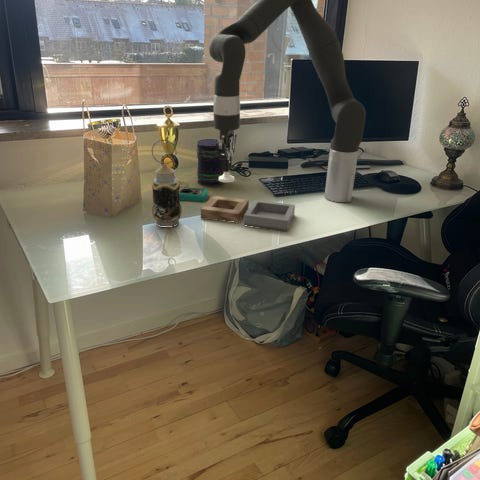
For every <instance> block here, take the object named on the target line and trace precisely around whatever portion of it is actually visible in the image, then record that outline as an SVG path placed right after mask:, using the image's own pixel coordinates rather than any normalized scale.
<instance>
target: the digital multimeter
mask: <svg viewBox="0 0 480 480" xmlns="http://www.w3.org/2000/svg"><path fill="white" fill-rule="evenodd" d="M184 187H185V188H184V189H182V190H181V191H179V197H180V201H190V202H202V203H204V202H205V201H206V200H208V198H209V194H208V193H209V191H208V189H207V188H204V187H203V188H202V187H186V186H184Z"/></svg>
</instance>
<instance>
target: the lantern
mask: <svg viewBox="0 0 480 480" xmlns="http://www.w3.org/2000/svg"><path fill="white" fill-rule="evenodd" d="M164 141H165V142H169V144H171V145H172V146H173V147H174V151H175V155H174V157H173V158H172V160H171V161H169V162H161V161H158V160H157V158H155V155H154V151H153V150H154V147H155V145H156V144H157V143H159V142H164ZM151 155H152V157H153V159H154V160H155V161H156V162H157V163H159V164H162V166H160V167H159V168H158V169H157V168H156V170H155V174H156V178H154V179H153V180H151V188H152V208H151V213H152V217H153V219H154V220H155V223H156V224H158V225H160V226H174V225H176V224H179V220H180V219H181V216H182V214H183V213H182V212H183V210H182V204H181V200H180V197H179V189H180V187H181V184H180V182H179V180H178V178H176V177H175V174H174V173H175V172H176V171H175V169H173V168H171V167H170V166H169V165H168V164H170V163H172V162H174V161H175V159H176V156H177V149H176V146H175V145H174V144H173V142H172V141H170V140H167V139H160V140H158V141H156V142H155V143H154V144H153V145H152V148H151Z"/></svg>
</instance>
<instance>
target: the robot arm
mask: <svg viewBox="0 0 480 480" xmlns="http://www.w3.org/2000/svg"><path fill="white" fill-rule="evenodd" d="M288 8H290V10H291V11H292V14H293V17H294V18H295V20H296V22H297V25H298V28H299V30H300V32H301V36H302V38H303V40H304V42H305V45H306V48H307V51H308V54H309V57H310V60H311V62H312V64H313V66H314V68H315V69H314V70H315V72H316V73H317V76H318V78H319V79H320V80H319V81H320V82H321V84H322V86H323V88H324V92H325V95H326V97H327V101H328V105H329V108H330V113H331V117H332V119H333V121H334V122H335V127H334V134H333V137H332V139H331V140H330V146H329V147H330V148H329V155H328V164H327V172H326V181H325V190H324V198H325V199H326V200H327V201H331V202H336V203H346V202H347V203H348V202H349V203H351V202H352V197H353V190H354V183H355V177H356V169H357V161H358V155H359V149H360V146H361V143H362V141H363V135H364V131H365V130H364V129H365V123H366V116H367V113H366V108H365V107H364V104H362V103H361V102H359V101H358V100H357V99H356V98H355V97H354V95H353V91H352V90H351V89H350V85H349V83H348V80H347V77H346V69H345V68H346V66H345V58H344V55H343V50H342V48H341V44H340V41H339V39H338V36H337V34H336V31H335V29H334V28H333V27H332V26H331V25H330V23H328V21H327V20H326V19H324V17H323V16H322V15H321V14H320V13H319V11H318V10H317V8H316V7H315V5H314V3H313V0H258V1H256V2H254V3H253V4H252V6H250V7H249V8H248V9H247V10H246V11H245V12H243V14H242V15H240V17H239V18H238V19H237V20H235V21H234V22H232V23H231V24H229V25H227V26H226V27H225V28H223V29H222V30H220V31H219V32H218V33H216V34H215V35H213V37H212V38H211V40H210V43H209V46H208V51H209V52H208V53H209V55H210V57H211V59H213V61H215V62H218V63H222V68H221V70H220V71H221V72H218V73H216V74H215V75H214V79H213V82H214V83H213V84H214V87H213V88H214V89H213V91H214V95H213V96H214V97H213V127H214V129H215V130H218V131H219V135H218V139H217V140H218V141H219V142H217V143H216V147H217V152H218V157H219V159H222V160H221V164H222V172H228V171H229V172H230V170H231V169H232V168H233V166H232V165H233V157H234V153H235V151H236V143H237V136H238V135H237V133H235V131H236V130H239V129H240V127H241V124H240V123H241V100H240V86H241V85H240V79H241V77H242V72H243V68H244V64H245V61H246V60H245V59H246V47H245V45H246V44H251V43H253V42H255V41H256V40H257V39H258V38H259V37H260V36H261V35H262V34H263V33H264V32H265V31H266V30H267V29H268V28H269V27H270V26H271V25H272V24H273V23H274V22H275V21H276V20H277V19H278V18H279V17H280V16H282V14H283V13H284V12H285V11H286V10H287V9H288ZM226 148H228V149H226ZM223 154H224V155H223ZM229 161H230V163H229Z"/></svg>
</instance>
